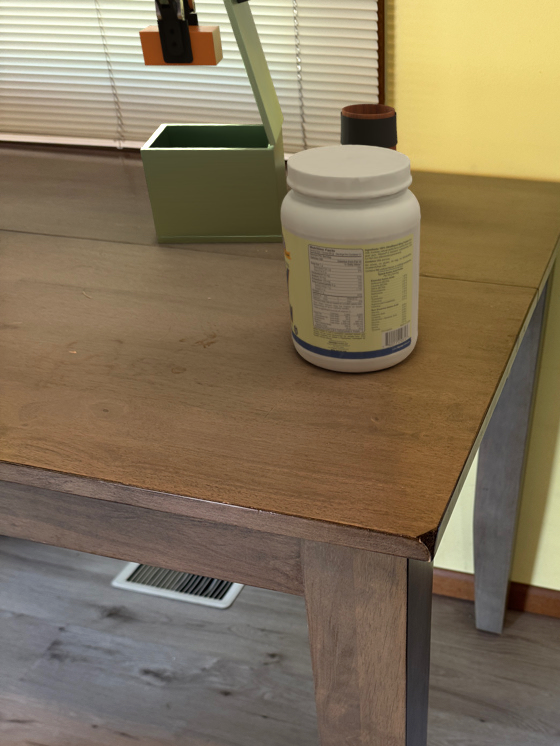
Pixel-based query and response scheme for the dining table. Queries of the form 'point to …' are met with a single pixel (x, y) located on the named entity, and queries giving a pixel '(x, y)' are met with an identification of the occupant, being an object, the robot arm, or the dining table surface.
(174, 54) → the robot arm
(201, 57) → the orange block
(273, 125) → the bin lid
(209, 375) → the dining table surface
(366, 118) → the mug
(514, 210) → the dining table surface
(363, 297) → the supplement tub
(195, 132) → the bin
